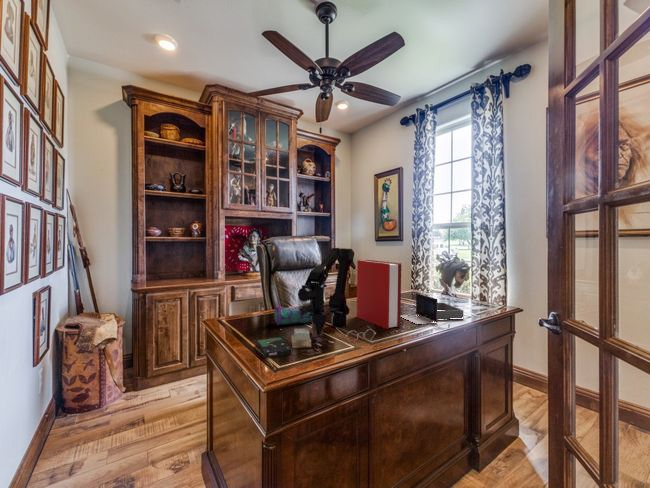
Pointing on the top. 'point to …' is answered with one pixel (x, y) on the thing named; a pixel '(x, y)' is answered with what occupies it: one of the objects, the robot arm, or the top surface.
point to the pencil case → (290, 316)
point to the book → (379, 292)
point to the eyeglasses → (357, 333)
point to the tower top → (301, 334)
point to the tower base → (300, 343)
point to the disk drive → (274, 347)
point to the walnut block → (314, 332)
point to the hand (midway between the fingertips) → (317, 331)
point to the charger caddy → (448, 311)
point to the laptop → (424, 310)
